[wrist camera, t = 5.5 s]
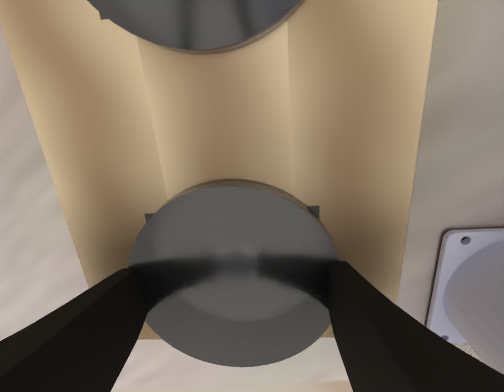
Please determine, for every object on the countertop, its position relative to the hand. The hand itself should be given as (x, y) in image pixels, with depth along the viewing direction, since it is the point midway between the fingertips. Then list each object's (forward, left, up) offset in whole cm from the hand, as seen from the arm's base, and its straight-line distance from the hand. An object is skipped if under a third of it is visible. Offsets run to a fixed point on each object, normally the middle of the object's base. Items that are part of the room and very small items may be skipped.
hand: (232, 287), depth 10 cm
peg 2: (0, 0, -5) cm, 5 cm away
